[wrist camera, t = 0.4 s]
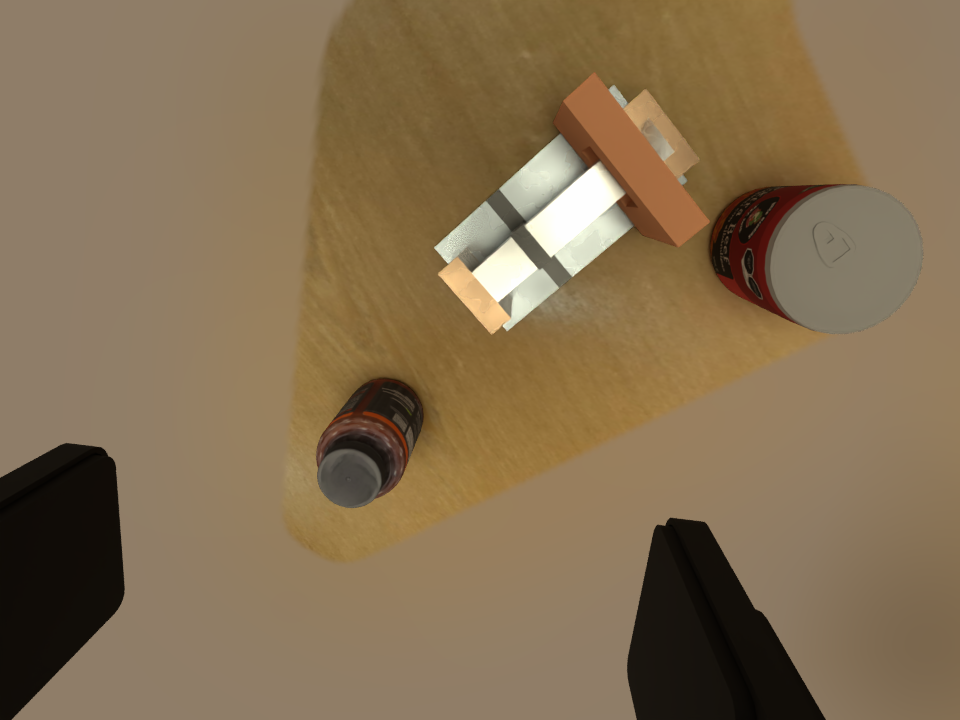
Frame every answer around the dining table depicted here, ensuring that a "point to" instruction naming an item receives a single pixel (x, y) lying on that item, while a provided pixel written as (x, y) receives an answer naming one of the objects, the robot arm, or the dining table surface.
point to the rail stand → (548, 222)
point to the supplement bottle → (369, 443)
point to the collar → (629, 164)
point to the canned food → (820, 254)
